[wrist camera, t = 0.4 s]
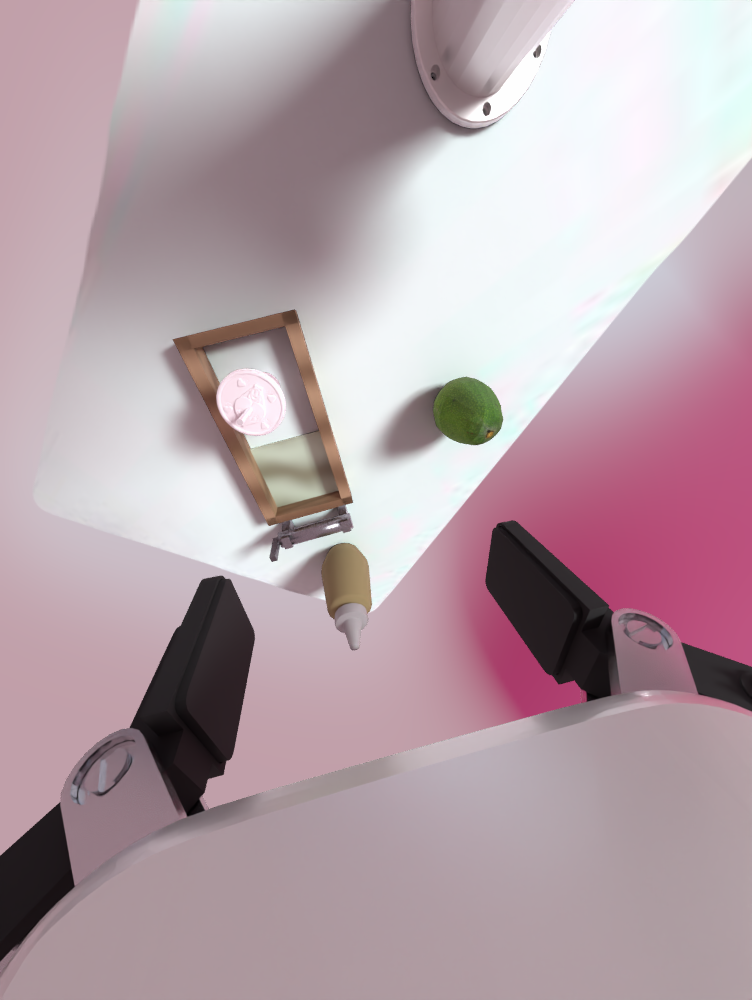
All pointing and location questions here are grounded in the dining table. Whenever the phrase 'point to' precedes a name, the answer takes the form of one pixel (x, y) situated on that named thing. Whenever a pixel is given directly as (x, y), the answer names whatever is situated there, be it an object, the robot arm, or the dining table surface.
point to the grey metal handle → (310, 531)
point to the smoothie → (251, 401)
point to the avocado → (467, 411)
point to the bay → (284, 464)
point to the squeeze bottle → (347, 590)
